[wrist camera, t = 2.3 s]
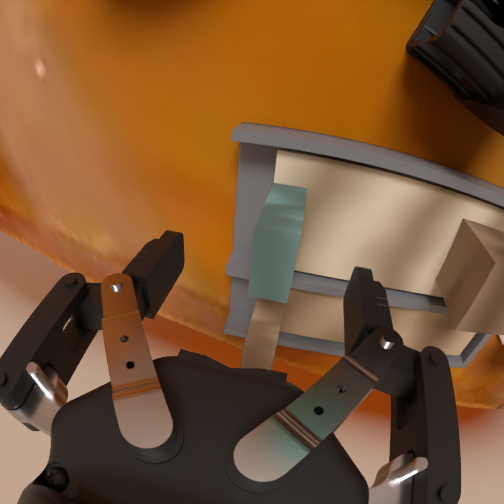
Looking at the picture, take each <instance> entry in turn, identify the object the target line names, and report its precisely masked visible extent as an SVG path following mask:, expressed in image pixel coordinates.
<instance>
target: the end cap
mask: <svg viewBox="0 0 504 504" xmlns="http://www.w3.org/2000/svg"><path fill="white" fill-rule="evenodd" d="M406 48H407V51H408V52H409V54H410V55H411V56H413V57H414V58H415V59H416V60H418V61H419V62H420V63H422V64H423V65H424V66H425V67H427V68H428V69H429V70H430V71H431V72H433V73H434V74H435V75H436V76H437V77H438V78H440V79H441V80H442V81H443V82H444V83H445V84H446V85H447V86H449V87H450V88H451V89H452V90H453V91H454V92H455V95H454V97H455V98H456V99H457V100H458V101H459V102H461V103H462V104H463V105H464V106H465V107H466V108H467V109H468V110H470V111H471V112H472V113H473V114H474V115H476V116H477V117H478V118H479V119H481V120H482V121H483V122H484V123H486V124H487V125H488V126H490V127H491V128H492V129H494V130H495V131H497V132H498V133H500V134H501V135H503V136H504V0H434V1H433V3H432V4H431V6H430V8H429V9H428V11H427V12H426V14H425V16H424V17H423V19H422V20H421V22H420V23H419V25H418V27H417V28H416V30H415V31H414V33H413V35H412V36H411V38H410V39H409V41H408V42H407V46H406Z"/></svg>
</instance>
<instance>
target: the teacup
mask: <svg viewBox="0 0 504 504" xmlns="http://www.w3.org/2000/svg"><path fill="white" fill-rule="evenodd" d="M499 337H500V340H501V343H502V344H503V345H504V335H499Z"/></svg>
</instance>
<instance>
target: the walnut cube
mask: <svg viewBox="0 0 504 504" xmlns="http://www.w3.org/2000/svg"><path fill="white" fill-rule="evenodd" d="M436 281H437V284H438V286H439V289H440V291H441V294H442V296H443V299H444V301H445V304H446V307H447V310H448V312H449V315H450V318H451V321H452V324H453V327H454V330H456V331H465V332H474V333H483V334H493V335H504V232H503V231H500V230H497V229H494V228H492V227H489V226H486V225H483V224H480V223H477V222H473V221H470V220H467V219H464V218H463V219H462V222H461V224H460V227H459V229H458V232H457V234H456V236H455V239H454V241H453V243H452V246H451V248H450V250H449V252H448V255H447V257H446V259H445V261H444V263H443V265H442V267H441V269H440V271H439V273H438V275H437V277H436Z"/></svg>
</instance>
